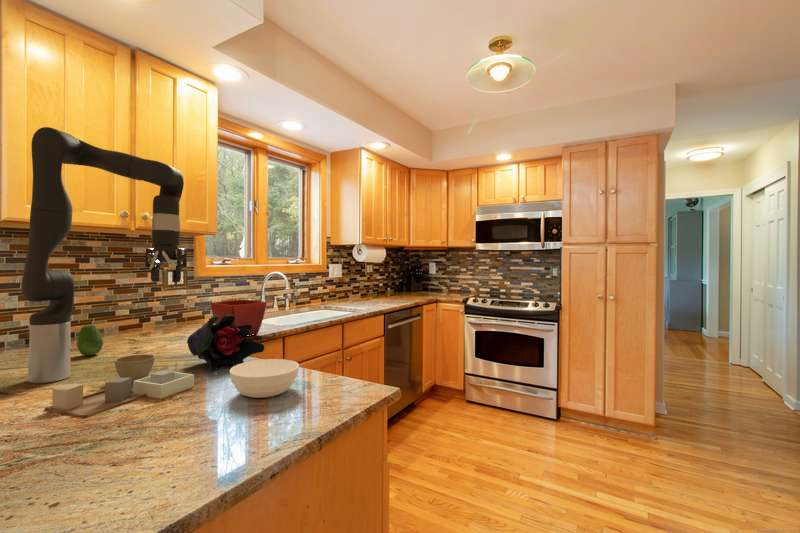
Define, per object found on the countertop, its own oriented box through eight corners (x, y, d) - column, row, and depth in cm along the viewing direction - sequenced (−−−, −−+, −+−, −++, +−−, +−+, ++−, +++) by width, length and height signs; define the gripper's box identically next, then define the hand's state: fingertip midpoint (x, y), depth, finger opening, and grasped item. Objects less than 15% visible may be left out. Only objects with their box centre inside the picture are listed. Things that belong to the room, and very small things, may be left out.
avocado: (73, 356, 143) (73, 324, 143) (99, 352, 149) (99, 322, 149) (80, 359, 138) (80, 326, 138) (106, 355, 145) (106, 324, 145)
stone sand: (52, 409, 90) (52, 388, 90) (69, 403, 94) (69, 383, 94) (66, 410, 89) (66, 389, 89) (83, 404, 93) (83, 384, 93)
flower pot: (133, 388, 108) (134, 363, 108) (105, 385, 110) (105, 360, 110) (162, 377, 117) (162, 355, 117) (135, 375, 119) (136, 353, 119)
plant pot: (232, 341, 173) (232, 305, 173) (209, 336, 183) (209, 302, 183) (267, 335, 189) (267, 301, 189) (244, 331, 199) (244, 299, 199)
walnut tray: (44, 411, 90) (44, 407, 90) (113, 390, 105) (113, 387, 105) (85, 419, 86) (85, 415, 86) (150, 396, 101) (150, 392, 101)
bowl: (312, 388, 110) (312, 363, 110) (265, 409, 93) (265, 380, 93) (264, 379, 117) (265, 356, 117) (214, 398, 101) (214, 371, 101)
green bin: (133, 395, 101) (133, 381, 101) (166, 384, 111) (166, 370, 111) (161, 400, 98) (161, 385, 98) (193, 388, 108) (193, 374, 108)
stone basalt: (104, 402, 95) (105, 382, 95) (115, 396, 99) (115, 377, 99) (121, 401, 96) (121, 382, 96) (131, 396, 100) (131, 377, 100)
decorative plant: (228, 382, 142) (276, 375, 126) (156, 368, 125) (202, 357, 108) (241, 330, 152) (288, 316, 136) (176, 310, 134) (221, 291, 118)
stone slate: (150, 392, 103) (150, 373, 103) (163, 387, 107) (163, 370, 107) (161, 393, 102) (161, 375, 102) (174, 389, 106) (174, 371, 106)
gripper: (137, 228, 115) (137, 281, 115) (173, 228, 110) (172, 283, 111) (159, 231, 122) (159, 280, 122) (194, 230, 118) (193, 282, 118)
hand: (165, 281), depth 116 cm, fingers open, 8 cm apart
